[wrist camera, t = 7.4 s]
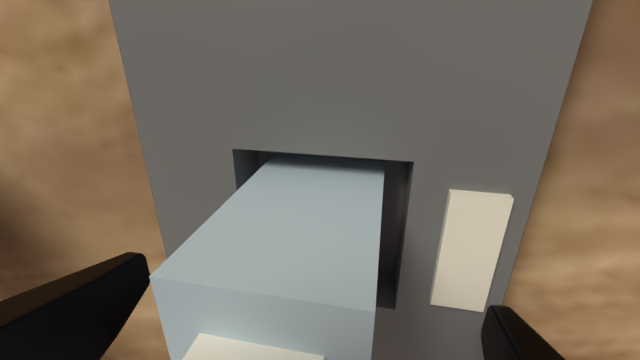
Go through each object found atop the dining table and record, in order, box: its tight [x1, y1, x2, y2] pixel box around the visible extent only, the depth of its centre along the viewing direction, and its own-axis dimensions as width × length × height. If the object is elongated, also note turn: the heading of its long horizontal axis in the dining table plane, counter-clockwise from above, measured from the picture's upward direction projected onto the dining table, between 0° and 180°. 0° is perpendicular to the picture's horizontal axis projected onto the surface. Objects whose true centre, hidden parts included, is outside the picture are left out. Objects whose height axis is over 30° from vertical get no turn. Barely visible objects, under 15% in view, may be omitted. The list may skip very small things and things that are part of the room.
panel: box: [109, 0, 593, 360], centre depth 9 cm, size 12×24×3 cm, turn 0°
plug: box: [149, 153, 385, 360], centre depth 9 cm, size 4×4×8 cm
